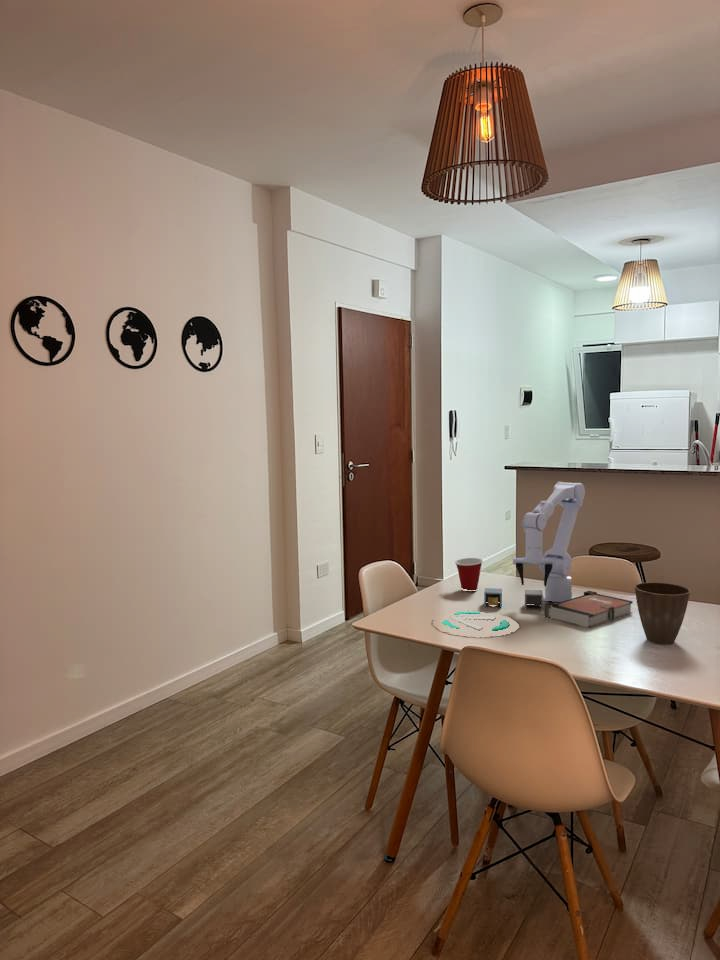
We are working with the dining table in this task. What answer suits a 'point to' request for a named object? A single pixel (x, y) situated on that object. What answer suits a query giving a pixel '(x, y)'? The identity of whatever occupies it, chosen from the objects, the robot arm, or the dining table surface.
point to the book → (588, 609)
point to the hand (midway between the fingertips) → (533, 584)
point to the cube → (493, 600)
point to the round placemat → (503, 624)
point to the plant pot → (661, 610)
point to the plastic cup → (469, 572)
